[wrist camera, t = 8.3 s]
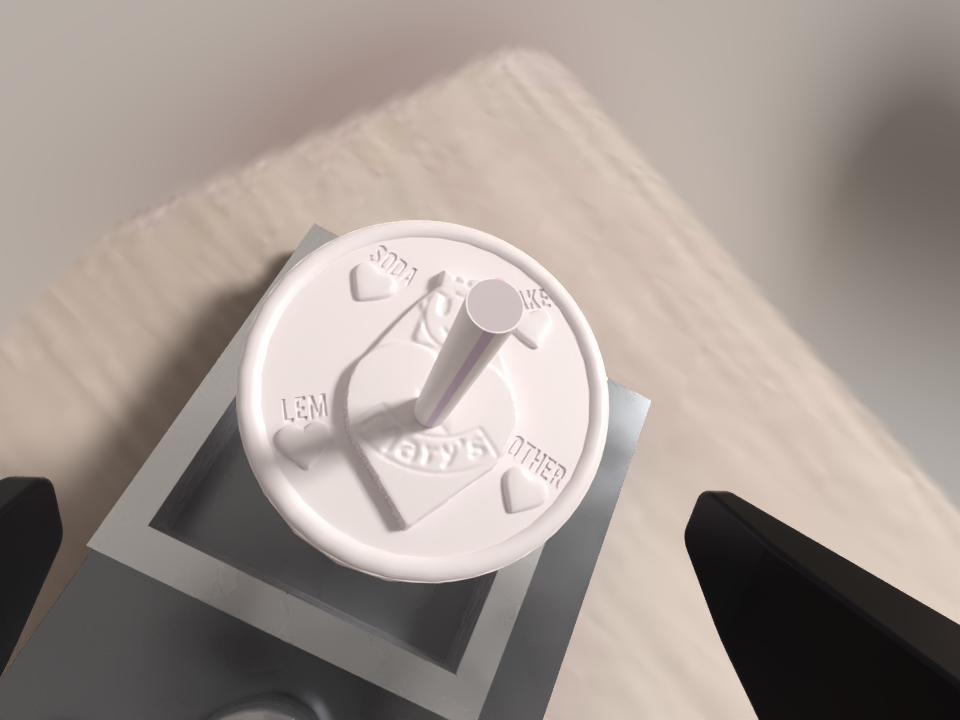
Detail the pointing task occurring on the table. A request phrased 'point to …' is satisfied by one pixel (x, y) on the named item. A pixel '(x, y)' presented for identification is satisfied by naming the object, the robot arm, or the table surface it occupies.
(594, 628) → the table surface
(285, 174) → the table surface
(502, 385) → the smoothie
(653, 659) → the table surface
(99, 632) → the grey tray with knobs
